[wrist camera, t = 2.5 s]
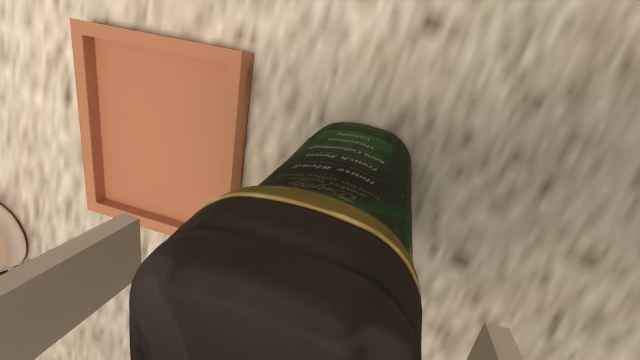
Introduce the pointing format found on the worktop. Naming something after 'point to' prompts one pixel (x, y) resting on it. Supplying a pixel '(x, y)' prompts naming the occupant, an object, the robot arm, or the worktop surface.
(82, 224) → the worktop surface
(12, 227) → the jar
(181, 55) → the tray
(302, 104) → the worktop surface
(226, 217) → the coffee jar
